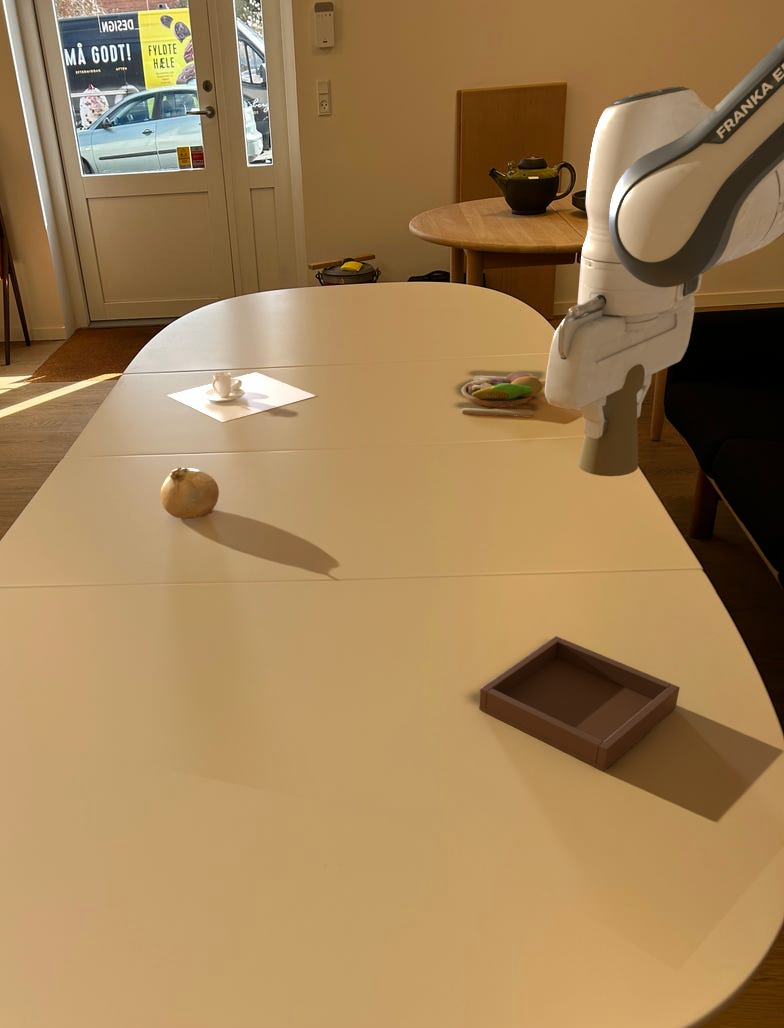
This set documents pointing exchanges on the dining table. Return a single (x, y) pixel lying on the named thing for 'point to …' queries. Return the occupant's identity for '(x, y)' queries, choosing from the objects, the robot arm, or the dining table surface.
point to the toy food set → (501, 393)
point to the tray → (579, 701)
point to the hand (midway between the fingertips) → (612, 427)
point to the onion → (189, 493)
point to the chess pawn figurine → (616, 432)
